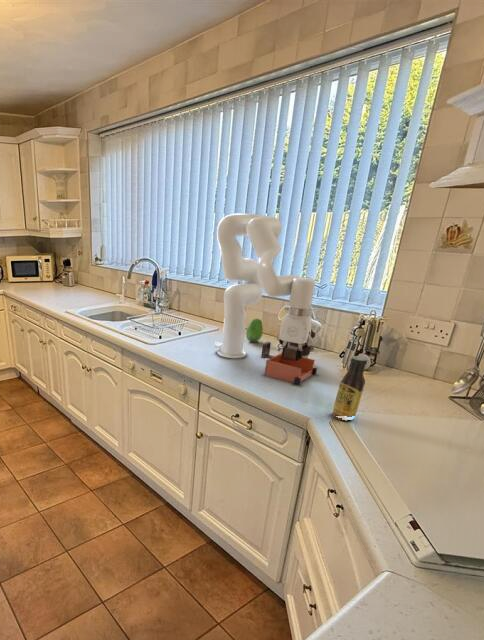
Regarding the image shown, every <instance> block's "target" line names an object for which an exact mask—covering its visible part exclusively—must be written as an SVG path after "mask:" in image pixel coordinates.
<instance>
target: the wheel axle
mask: <svg viewBox="0 0 484 640" xmlns="http://www.w3.org/2000/svg"><path fill="white" fill-rule="evenodd" d="M317 372H318V368H317V367H313V372H312V375H313V376H316V375H317ZM312 375H311V376H312ZM301 383H302V381H301V378H297V377H295V379H294V383H293V385H295V386H298V387H300V386H301Z"/></svg>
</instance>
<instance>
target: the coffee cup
mask: <svg viewBox="0 0 484 640" xmlns="http://www.w3.org/2000/svg"><path fill="white" fill-rule="evenodd" d="M315 337H316V332H315V331H313V328H311V338H312V339H313V340H314V339H315ZM308 343H309V342H306V343H305V345H306V344H308ZM290 345H291V346H296V347H299V345H298V343H293V342H289V344H288V346H290ZM312 346H313V345H311V346H309V347H307V348H306V349H304V350H303V356H302V357H303V358H308V359H309V355H310V354H311V350H312Z"/></svg>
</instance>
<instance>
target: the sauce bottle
mask: <svg viewBox="0 0 484 640" xmlns="http://www.w3.org/2000/svg"><path fill="white" fill-rule="evenodd" d="M367 363H368V358H366V357H364V356H361V355H353V356H351V358H350V364H349V368H348V370H347V372H346V373H345V375H344V376H343V378H342V379H341V381H340V383H339V386H338V389H337V393H336V397H335V401H334V404H333V408H332V417H333V418H334V419H336V420H339V421H342V422H344V421H343V420H342V418H338V417H336V416H347V417H352V416H355V417H356V416H357V412H358V409H359V406H360V402H361V399H362V395H363V392H364V387H365V384H366V379H365V376H364V373H365V371H364V370H365V367H366V365H367Z"/></svg>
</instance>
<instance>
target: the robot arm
mask: <svg viewBox="0 0 484 640" xmlns="http://www.w3.org/2000/svg"><path fill="white" fill-rule="evenodd" d="M281 232H282V224H281V221H280V220H279V219H278V218H277V217H275V216H269V215H262V214H259V213H232V214H228V215H225V216H224V217H222V218H221V219H220V221H219V223H218V225H217V228H216V238H217V243H218V246H219V250H220V256H221V262H222V263H221V264H222V270H223V275H224V278H225V280H226V281H228V282H230V283H231V282H232V283H236V282H237V284H232V285H230V286H228V287H227V288H226V289H225V290H224V293H223V305H224V313H223V326H222V337H221V342H218V341H215V343H214V348H218V350H217V353H216V354H217V355H218V356H220V357H222V358H226V359H241V358H245V357H246V355H247V352H246V351H244V342H245V336H246V327H247V312H246V309H245V307H246V306H252V305H257V304H258V303H260V301H261V300H262V298H263V292H265V294H266V295H267V296H269V297H270V298H271V297H272V298H276V297H284V296H285V297H286V296H289V302H288V306H285V307H284V311H286V313H285V314H284V316H283V320H282V322H281V327H280V331H279V333H278V334H277V335H276V336H275V339H276V340H277V341H278V342H279V344H280V345H281V348H282V350H281V353H282V355H283V357H284V351H285V348H286V347H288V346H289V342H293V343H298V345H299V350H298V351H297V356H296V361H298V360H300V359H301V358H302V356H303V350H304V349H306V348H307V347H309V346H311V345H312V346H313V345H315V341H314V338H313V339H312V338H311V329H312V316H311V308H312V303H313V296H314V290H315V285H316V280H315V279H314V278H312V277H306V276H305V277H304V276H298V275H295V274H282V275H277V273H276V271H275V268H274V267H273V259H274V258H276V257H277V256H278V255H279V254H280V252H281V249H282V247H281V245H280V243H279V241H278V239H277V238H278V237H279V236H280V234H281ZM238 236H240V237H241V236H242V237H243V236H247V237H248V239H249V241H250V243H251V245H252V247H253V249H254V251H255V254H256V255H257V258H258V262H257V261H256V260H255V259H253V258H251V257H244V256H243V249H242V246H241V243H240V241H239V240H238V239H237V238H236V237H238ZM238 282H242V283H238ZM306 342H309V343H308V344H306V345H305V343H306ZM312 346H311V347H312Z"/></svg>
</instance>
